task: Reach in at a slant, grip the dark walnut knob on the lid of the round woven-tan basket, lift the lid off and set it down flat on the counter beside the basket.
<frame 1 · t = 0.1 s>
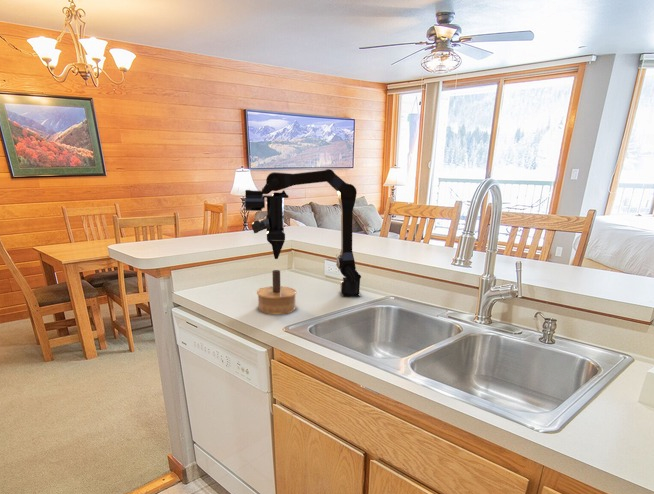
hand: (275, 256, 159), 14 cm above the worktop, tool pointing down, fingers open, 9 cm apart
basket: (277, 308, 150), on the worktop
lid: (276, 292, 148), point 5 cm above the worktop, touching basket
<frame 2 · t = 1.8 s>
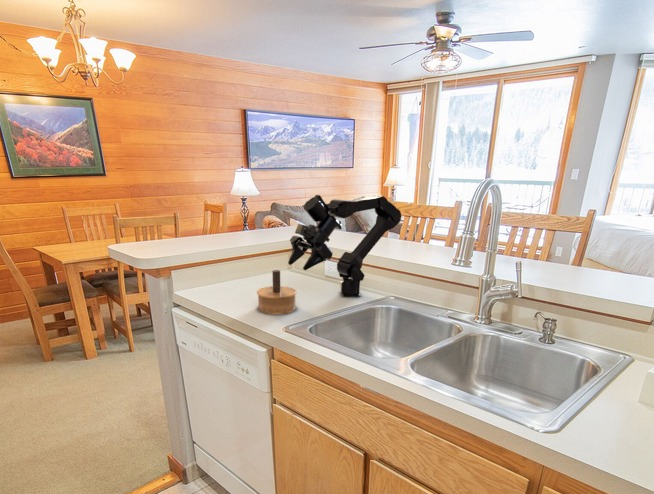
hand: (296, 266, 149), 13 cm above the worktop, tool tilted 45°, fingers open, 9 cm apart
nothing on the worktop moved.
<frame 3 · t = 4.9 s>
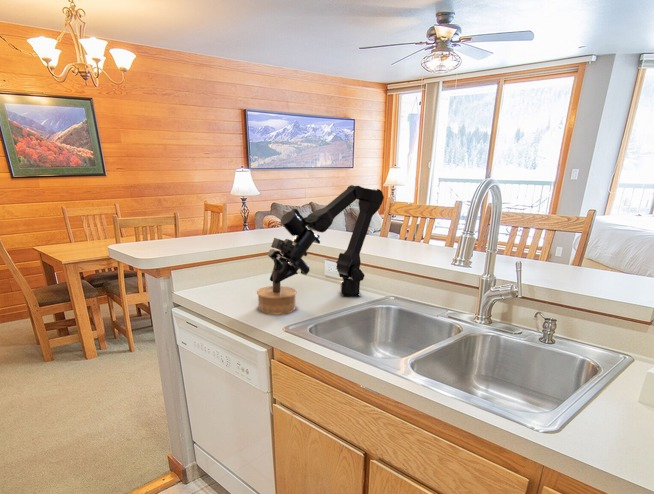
hand: (272, 281, 145), 10 cm above the worktop, tool tilted 45°, fingers closed on lid, 2 cm apart
lid: (276, 292, 148), point 6 cm above the worktop, touching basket, gripper
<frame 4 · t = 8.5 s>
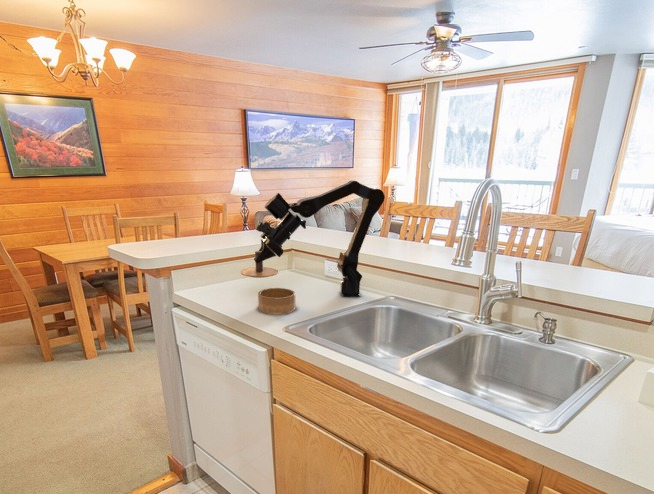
hand: (255, 261, 155), 14 cm above the worktop, tool tilted 45°, fingers closed on lid, 2 cm apart
lid: (259, 272, 157), point 9 cm above the worktop, touching gripper
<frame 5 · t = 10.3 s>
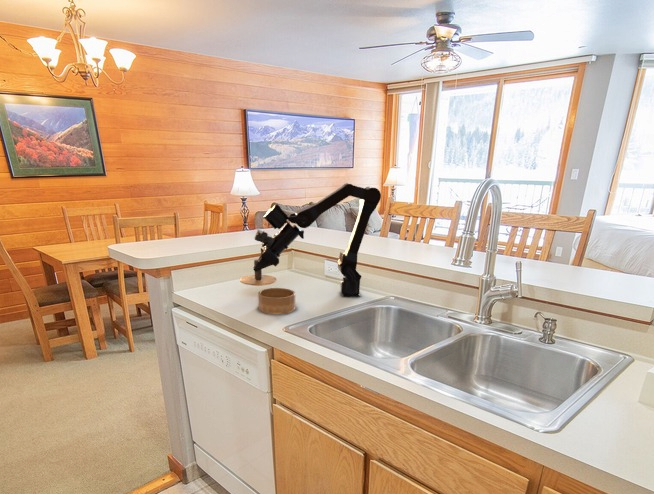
hand: (254, 269, 159), 10 cm above the worktop, tool tilted 45°, fingers closed on lid, 2 cm apart
lid: (258, 280, 161), point 6 cm above the worktop, touching gripper
when the fingers open (5 cm above the worktop, at t = 12.0 s): lid stays where it is, point 1 cm above the worktop.
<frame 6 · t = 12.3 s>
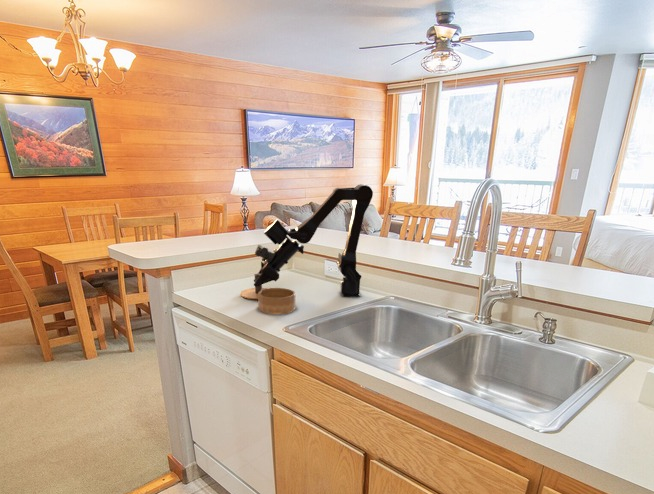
hand: (254, 283, 161), 5 cm above the worktop, tool tilted 45°, fingers open, 5 cm apart
lid: (258, 294, 163), point 1 cm above the worktop
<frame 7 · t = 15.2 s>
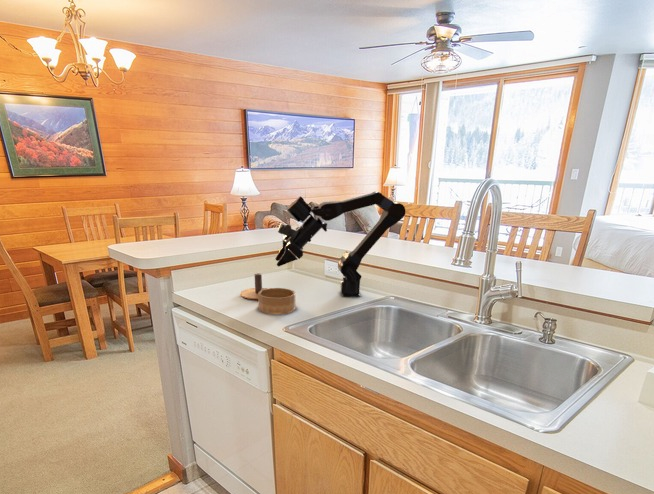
hand: (276, 262, 159), 12 cm above the worktop, tool tilted 45°, fingers open, 9 cm apart
nothing on the worktop moved.
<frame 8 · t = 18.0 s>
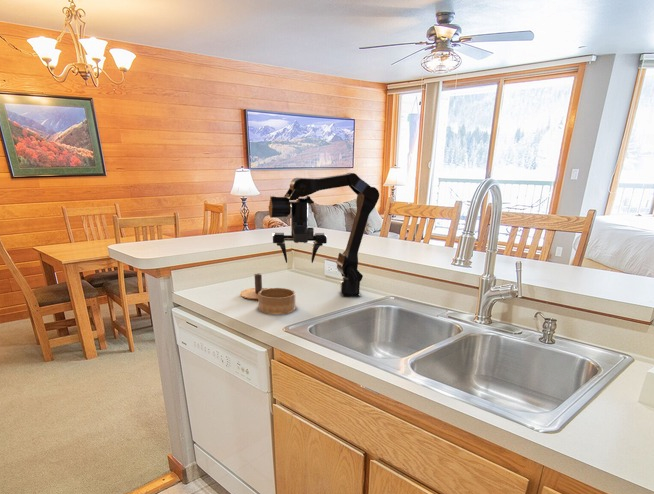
hand: (299, 262, 157), 13 cm above the worktop, tool pointing down, fingers open, 9 cm apart
nothing on the worktop moved.
at the end: lid inside the target area (0.0 cm from its centre), point 0.6 cm above the worktop; lid tilted 0° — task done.
